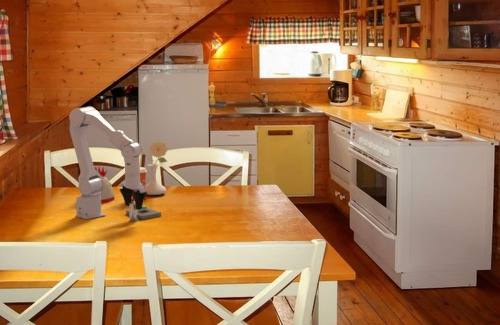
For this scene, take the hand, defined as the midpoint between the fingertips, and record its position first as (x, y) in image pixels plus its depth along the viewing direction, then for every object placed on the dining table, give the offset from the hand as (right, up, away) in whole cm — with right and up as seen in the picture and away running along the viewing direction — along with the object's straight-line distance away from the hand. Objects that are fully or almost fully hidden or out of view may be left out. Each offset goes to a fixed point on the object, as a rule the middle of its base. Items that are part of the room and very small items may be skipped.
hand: (133, 207), depth 274 cm
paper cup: (-4, +1, +37) cm, 37 cm away
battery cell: (0, -5, +1) cm, 5 cm away
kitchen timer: (-22, +1, +36) cm, 42 cm away
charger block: (+2, -4, +9) cm, 10 cm away
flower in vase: (+2, +3, +46) cm, 46 cm away
